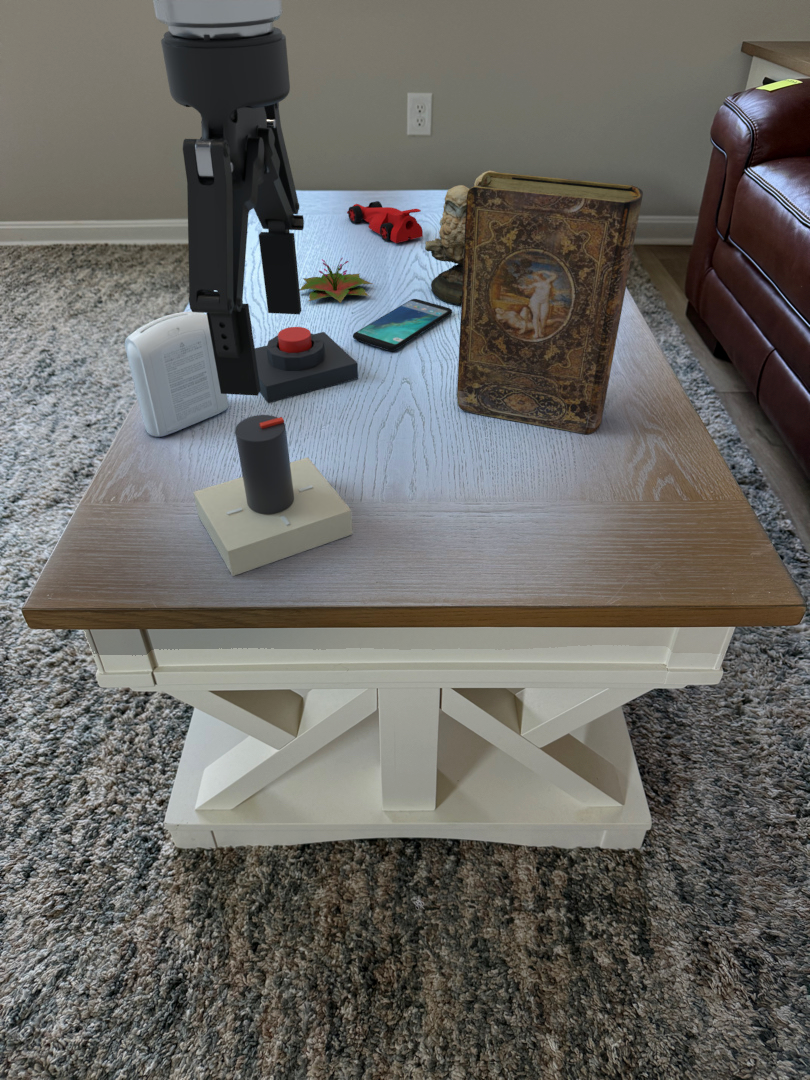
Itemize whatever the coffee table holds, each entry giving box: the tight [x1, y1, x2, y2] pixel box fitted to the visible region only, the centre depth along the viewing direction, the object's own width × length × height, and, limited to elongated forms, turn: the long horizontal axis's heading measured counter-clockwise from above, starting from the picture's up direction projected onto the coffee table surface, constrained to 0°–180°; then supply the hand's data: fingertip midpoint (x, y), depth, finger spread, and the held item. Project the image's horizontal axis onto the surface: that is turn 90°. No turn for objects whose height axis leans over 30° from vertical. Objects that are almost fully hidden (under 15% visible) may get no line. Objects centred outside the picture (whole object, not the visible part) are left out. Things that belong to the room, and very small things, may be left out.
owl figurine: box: [424, 169, 496, 306], centre depth 112 cm, size 18×12×17 cm, turn 82°
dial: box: [234, 414, 294, 514], centre depth 71 cm, size 4×4×8 cm
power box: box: [254, 331, 359, 403], centre depth 98 cm, size 12×10×4 cm
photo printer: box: [124, 310, 229, 438], centre depth 87 cm, size 10×4×12 cm, turn 134°
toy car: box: [346, 200, 424, 244], centre depth 138 cm, size 6×18×5 cm, turn 33°
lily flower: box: [299, 257, 374, 304], centre depth 117 cm, size 12×12×5 cm
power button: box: [277, 326, 312, 353], centre depth 96 cm, size 4×4×2 cm
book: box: [456, 171, 644, 435], centre depth 84 cm, size 16×6×25 cm, turn 70°
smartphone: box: [352, 298, 453, 352], centre depth 109 cm, size 7×1×15 cm
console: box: [192, 456, 353, 577], centre depth 75 cm, size 12×10×3 cm
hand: (264, 349), depth 61 cm, fingers open, 13 cm apart
